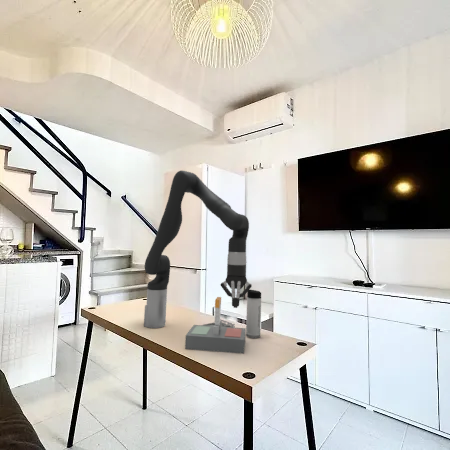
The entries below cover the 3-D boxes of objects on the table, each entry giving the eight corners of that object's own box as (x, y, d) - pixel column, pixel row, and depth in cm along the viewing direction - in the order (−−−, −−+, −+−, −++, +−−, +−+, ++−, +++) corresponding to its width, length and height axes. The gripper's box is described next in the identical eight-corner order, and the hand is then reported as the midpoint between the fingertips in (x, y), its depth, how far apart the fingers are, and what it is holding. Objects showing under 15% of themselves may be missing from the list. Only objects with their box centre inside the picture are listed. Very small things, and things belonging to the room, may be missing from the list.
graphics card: (219, 318, 140) (235, 323, 130) (219, 325, 139) (235, 331, 130) (190, 323, 129) (205, 329, 120) (190, 332, 129) (205, 339, 120)
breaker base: (185, 348, 106) (186, 327, 106) (193, 336, 120) (194, 317, 120) (243, 353, 103) (244, 331, 104) (245, 340, 117) (245, 320, 118)
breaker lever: (214, 328, 109) (215, 299, 110) (216, 324, 115) (217, 296, 116) (218, 328, 109) (219, 300, 110) (220, 324, 115) (221, 297, 116)
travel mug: (244, 333, 126) (245, 288, 127) (258, 333, 127) (259, 288, 128) (246, 338, 120) (247, 290, 121) (261, 338, 121) (262, 291, 122)
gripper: (219, 263, 110) (217, 308, 109) (253, 264, 108) (252, 310, 107) (221, 262, 117) (220, 304, 116) (253, 263, 116) (252, 306, 115)
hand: (235, 307), depth 112 cm, fingers closed
